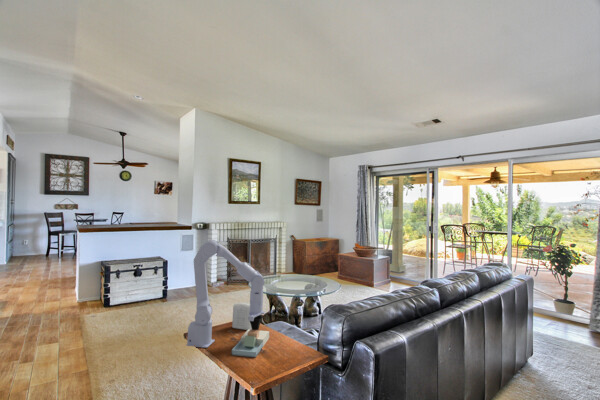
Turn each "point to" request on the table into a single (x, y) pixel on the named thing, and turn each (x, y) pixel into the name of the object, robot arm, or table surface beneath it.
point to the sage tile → (250, 341)
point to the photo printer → (241, 316)
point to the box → (246, 350)
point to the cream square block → (262, 337)
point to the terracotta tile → (253, 333)
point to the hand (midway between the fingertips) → (255, 332)
